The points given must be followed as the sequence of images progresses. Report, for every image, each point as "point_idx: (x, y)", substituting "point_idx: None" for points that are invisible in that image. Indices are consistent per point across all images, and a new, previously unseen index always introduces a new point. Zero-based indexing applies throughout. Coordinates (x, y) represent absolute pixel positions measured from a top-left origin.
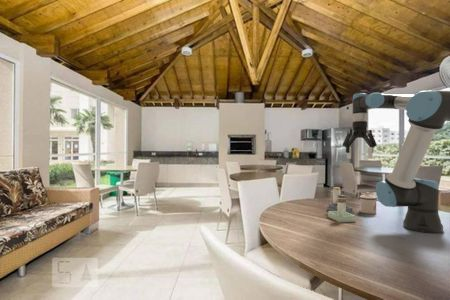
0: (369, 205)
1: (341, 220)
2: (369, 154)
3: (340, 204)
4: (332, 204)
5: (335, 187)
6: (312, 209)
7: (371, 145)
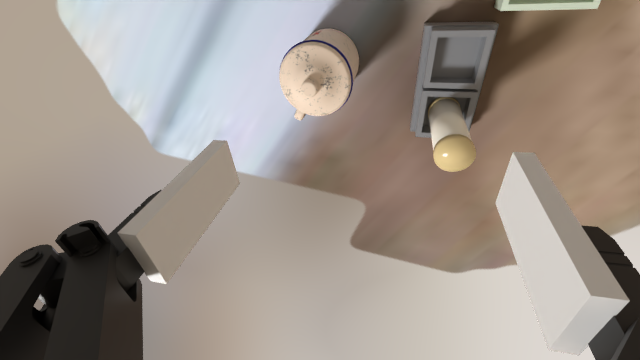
0: (335, 39)
1: None
2: (211, 193)
3: None
4: (467, 116)
5: (458, 159)
6: (521, 148)
7: (109, 263)
